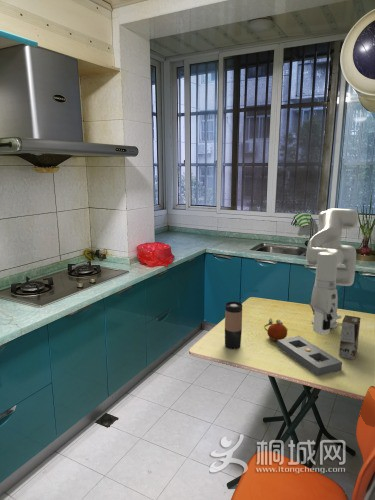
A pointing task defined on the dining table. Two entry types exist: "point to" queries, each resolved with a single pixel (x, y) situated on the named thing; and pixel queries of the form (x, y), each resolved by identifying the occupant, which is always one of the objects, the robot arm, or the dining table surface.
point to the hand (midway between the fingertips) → (321, 326)
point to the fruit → (277, 331)
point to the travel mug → (233, 325)
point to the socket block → (309, 355)
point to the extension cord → (276, 321)
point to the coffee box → (349, 337)
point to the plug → (319, 321)
